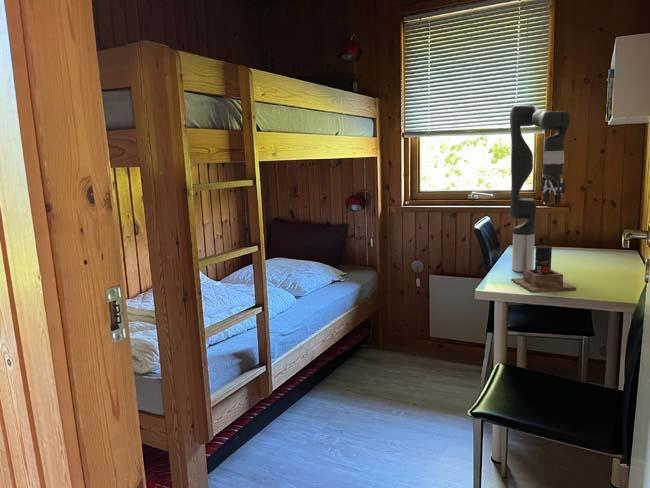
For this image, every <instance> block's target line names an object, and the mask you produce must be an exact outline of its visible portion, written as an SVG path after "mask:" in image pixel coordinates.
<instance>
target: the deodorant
mask: <svg viewBox="0 0 650 488" xmlns="http://www.w3.org/2000/svg"><path fill="white" fill-rule="evenodd" d="M552 251H553V249H552V246H551V245H536V246H535V254H534V261H535V262H534V269H535V274H537V275H547V274H551V270H552V255H553V254H552Z"/></svg>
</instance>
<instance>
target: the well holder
mask: <svg viewBox="0 0 650 488" xmlns="http://www.w3.org/2000/svg"><path fill="white" fill-rule="evenodd" d="M522 274H523V277H520V278H511V282H512V281H513V282H512V283H514V282H515V283H514V284H515V285H518V286H519V285H520V286H519V287H521V288H522V289H525V290H526V289H527V291H528V292H530V293H540V292H541V293H543V292H542V291H545V292H561V291H562V290H566V291H577V287H576V286H574V285H572V284H569V283H568V282H565V281H564V274H562V273H560V272H558V271H555V270H553V269H551V274H547V275H537V274H535V268H533V269H532V270H524V272H523V273H522ZM562 292H563V291H562Z"/></svg>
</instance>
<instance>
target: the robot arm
mask: <svg viewBox="0 0 650 488" xmlns="http://www.w3.org/2000/svg"><path fill="white" fill-rule="evenodd" d="M570 123H571V115H570V113H569V112H568V111H567V110H553V111H552V110H549V109H540V108H538V107H537V106H535V105H530V104H529V105H527V104H526V105H522V104H521V105H518V104H517V105H513V106H512V107H511V108H510V112H509V124H510V125H509V126H510V127H509V129H510V139H511V141H510V142H511V144H510V145H511V151H510V152H511V153H510V172H511V173H510V175H511V176H510V177H511V179H510V180H511V189H510V190H511V191H510V205H509V206H510V207H509V209H510V210H509V212H510V218H512V219H513V220H514V219H515V220H525V219H526V221H525V222H523V223H521V224H519V225H516V226H514V227H513V228H512V252H511V253H512V255H511V258H512V259H511V270H512V271H514V272H518V273H524V270H532V269H534V266H535V262H534V261H535V235H536V233H535V232H536V231H535V230H536V219H537V218H536V217H537V210H538V209H537V207H538V206H537V201H536V200H537V199H535V198H531V197H530V198H519V197H520V192H521V189H522V188H523V186H524V184H525V182H526V181H527V180H528V178H529V177H530V175H531V174H532V172H533V169H534V155H533V151H532V149H531V148H530V147H529V145H528V143H527V142H526V140H525V138H524V137H523V135H522V130H521V127H530V126H531V127H532V126H536V127H539V128H541V129H542V130H545V131H548V130H549V131H550V130H552V131H553V130H556V132H555V134H554V135H553V134H552V135H548V136H547V137H545V138H544V151H543V157H542V159H543V162H542V175H543V176H541V181H540V182H541V183H540V184H541V185H540V192H542V193H543V203H544V204H545V203H550V198H551V191H552V192H553V193H554V194H553V195H554V197H553V198H554V199H553V204H554V205H555V206H556V205H557V206H558V205H560V204H561V198H562V197H561V196H562V195H563V194H565V191H566V188H565V185H566V179H565V177H561V176H562V175H564V170H565V168H564V165H565V151H564V150H565V140H566V136H567V132H568V129H569V127H570Z"/></svg>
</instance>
